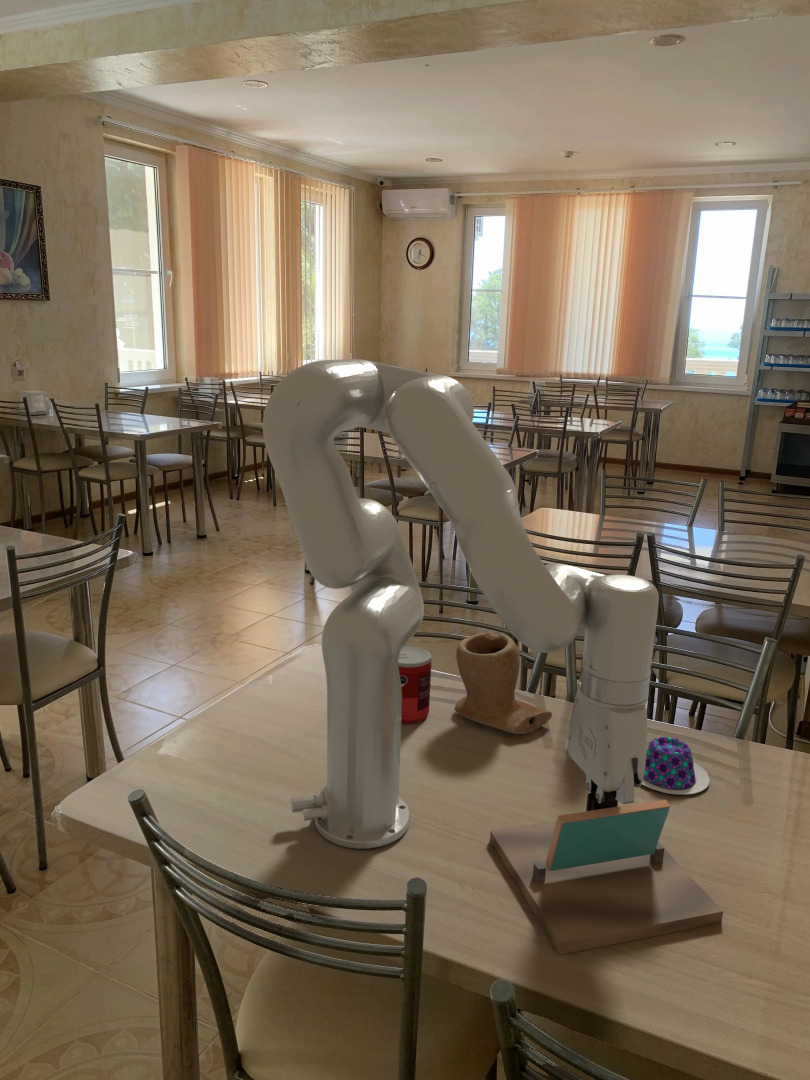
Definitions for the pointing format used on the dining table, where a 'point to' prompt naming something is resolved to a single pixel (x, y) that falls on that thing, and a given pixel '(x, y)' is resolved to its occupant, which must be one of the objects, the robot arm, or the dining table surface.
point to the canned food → (414, 683)
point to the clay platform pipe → (494, 685)
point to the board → (602, 893)
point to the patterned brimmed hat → (673, 767)
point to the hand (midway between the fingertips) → (600, 824)
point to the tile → (606, 834)
